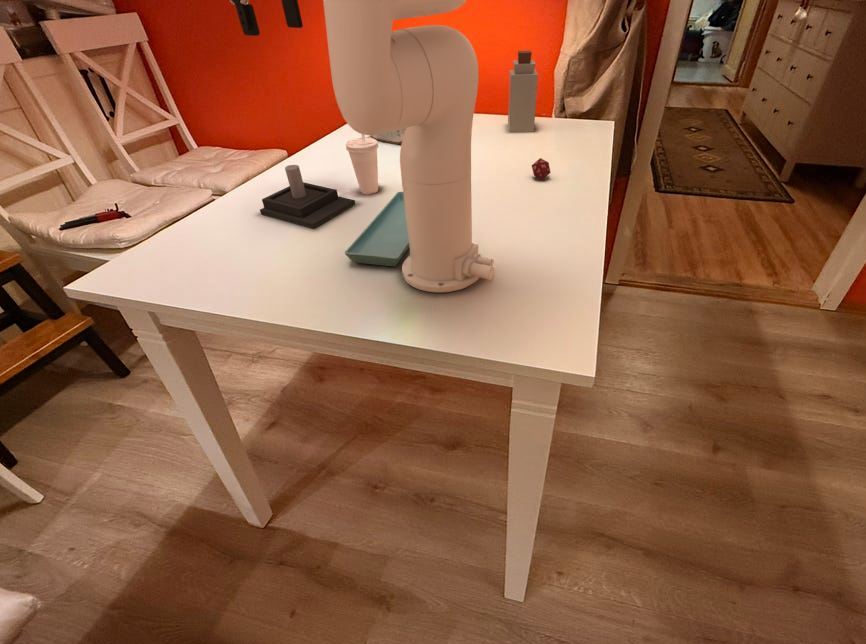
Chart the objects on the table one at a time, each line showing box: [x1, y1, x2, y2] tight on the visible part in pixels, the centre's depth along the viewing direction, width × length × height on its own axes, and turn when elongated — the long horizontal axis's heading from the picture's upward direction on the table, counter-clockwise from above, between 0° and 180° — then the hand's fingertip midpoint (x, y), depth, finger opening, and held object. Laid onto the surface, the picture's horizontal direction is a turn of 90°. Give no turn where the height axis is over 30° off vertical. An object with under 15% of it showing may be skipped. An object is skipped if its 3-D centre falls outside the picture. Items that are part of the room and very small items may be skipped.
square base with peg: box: [274, 164, 325, 206], centre depth 89 cm, size 7×7×7 cm
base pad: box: [259, 181, 356, 230], centre depth 91 cm, size 14×12×3 cm
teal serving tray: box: [344, 191, 410, 267], centre depth 82 cm, size 26×9×2 cm, turn 167°
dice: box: [531, 157, 551, 181], centre depth 99 cm, size 4×4×4 cm
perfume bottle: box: [507, 49, 539, 133], centre depth 122 cm, size 7×7×18 cm
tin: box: [369, 128, 406, 145], centre depth 120 cm, size 15×3×8 cm, turn 58°
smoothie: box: [345, 133, 379, 195], centre depth 93 cm, size 6×6×14 cm
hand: (274, 31), depth 78 cm, fingers open, 9 cm apart
